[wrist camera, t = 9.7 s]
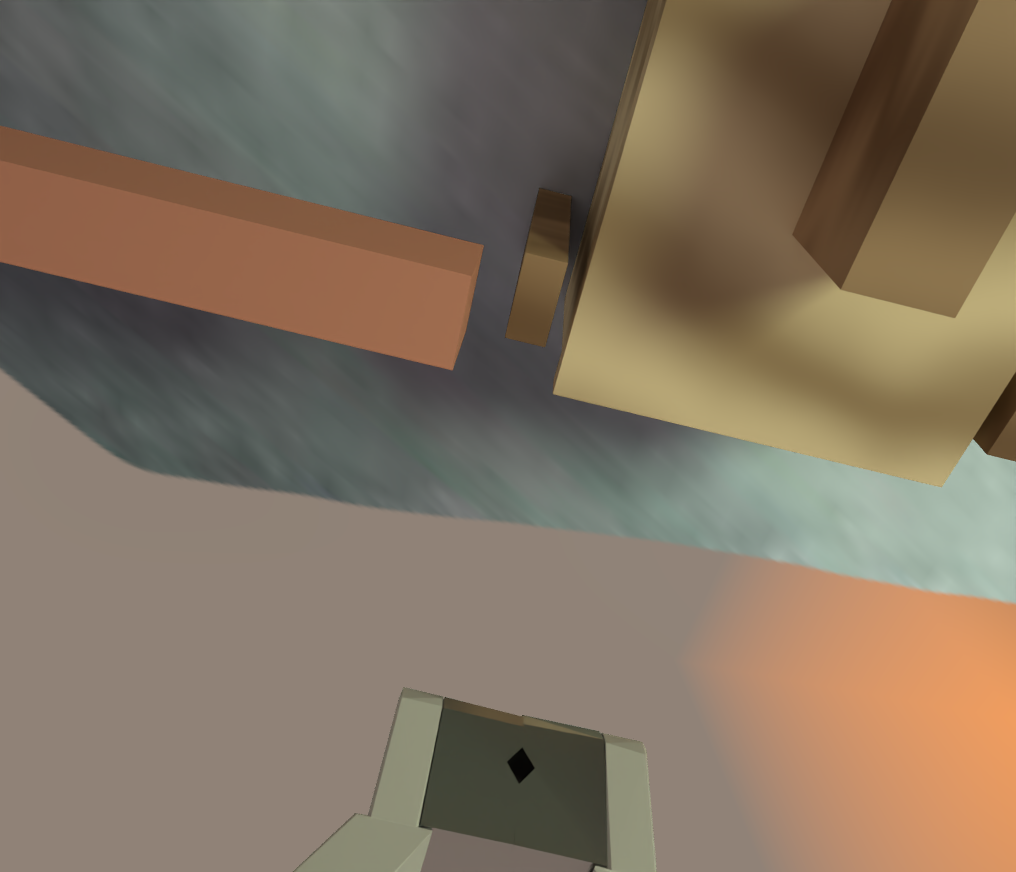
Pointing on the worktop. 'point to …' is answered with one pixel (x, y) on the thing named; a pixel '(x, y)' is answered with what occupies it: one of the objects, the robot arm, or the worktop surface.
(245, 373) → the worktop surface
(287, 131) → the worktop surface
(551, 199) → the toolbox
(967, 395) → the toolbox lid
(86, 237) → the bar
